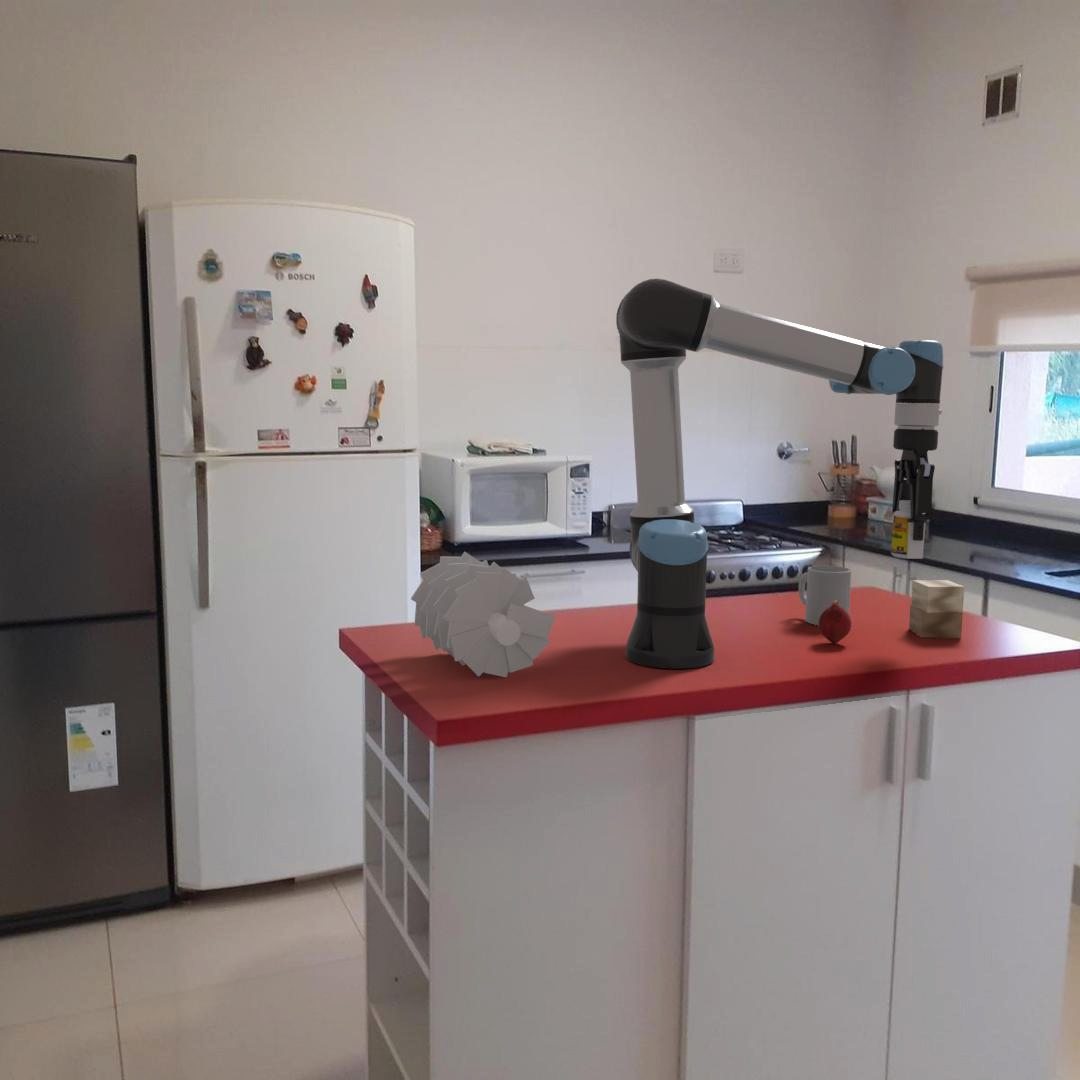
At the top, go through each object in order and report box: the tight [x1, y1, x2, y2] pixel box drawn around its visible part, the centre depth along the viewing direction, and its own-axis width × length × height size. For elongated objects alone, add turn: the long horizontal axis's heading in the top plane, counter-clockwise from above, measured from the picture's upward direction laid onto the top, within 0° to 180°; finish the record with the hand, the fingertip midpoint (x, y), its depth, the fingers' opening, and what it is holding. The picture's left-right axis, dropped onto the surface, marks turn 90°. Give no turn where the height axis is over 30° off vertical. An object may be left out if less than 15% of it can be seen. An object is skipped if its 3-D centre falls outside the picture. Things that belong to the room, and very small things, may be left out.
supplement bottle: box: [890, 500, 926, 560], centre depth 199 cm, size 6×6×10 cm
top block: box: [910, 579, 965, 613], centre depth 210 cm, size 7×7×5 cm
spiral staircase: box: [410, 551, 556, 678], centre depth 183 cm, size 18×18×25 cm
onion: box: [818, 601, 852, 644], centre depth 201 cm, size 6×6×8 cm
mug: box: [798, 565, 852, 626], centre depth 221 cm, size 12×8×11 cm
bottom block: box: [908, 604, 964, 639], centre depth 211 cm, size 8×8×5 cm
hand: (908, 555), depth 200 cm, fingers closed on supplement bottle, 6 cm apart
